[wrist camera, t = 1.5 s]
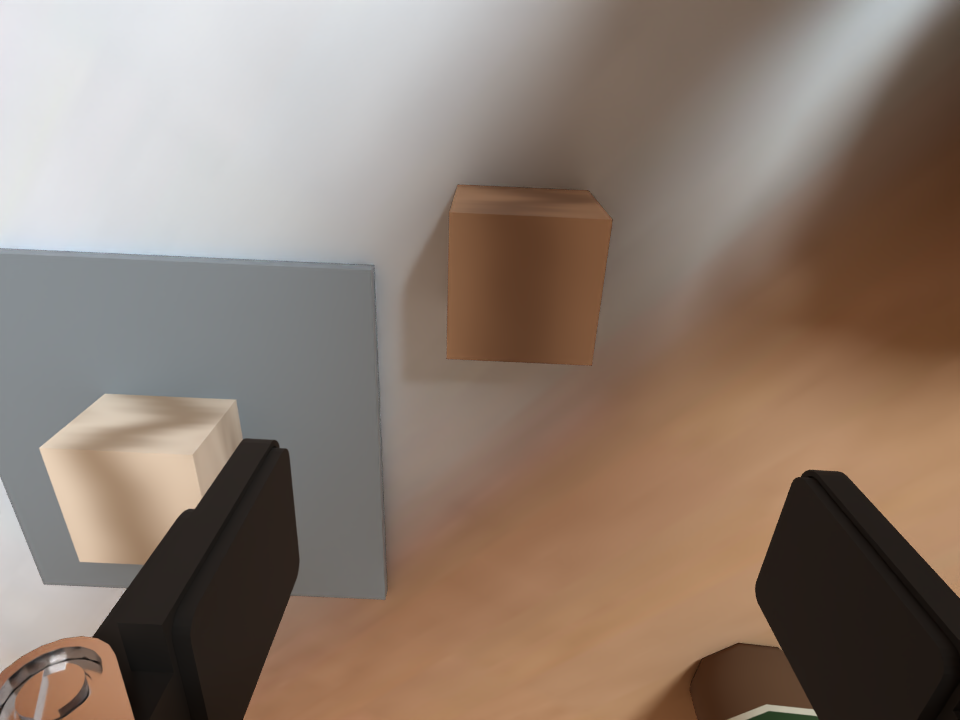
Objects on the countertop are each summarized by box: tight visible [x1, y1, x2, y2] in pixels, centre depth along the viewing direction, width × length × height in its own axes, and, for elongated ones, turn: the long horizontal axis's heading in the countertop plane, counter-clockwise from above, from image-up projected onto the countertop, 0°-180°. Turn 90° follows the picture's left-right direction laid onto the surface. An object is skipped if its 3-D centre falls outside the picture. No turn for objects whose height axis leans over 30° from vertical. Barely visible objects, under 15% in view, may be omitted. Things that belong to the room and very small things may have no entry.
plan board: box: [0, 248, 387, 600], centre depth 33 cm, size 22×22×1 cm
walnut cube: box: [447, 184, 613, 366], centre depth 25 cm, size 6×6×6 cm
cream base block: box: [39, 394, 243, 565], centre depth 30 cm, size 7×7×5 cm
